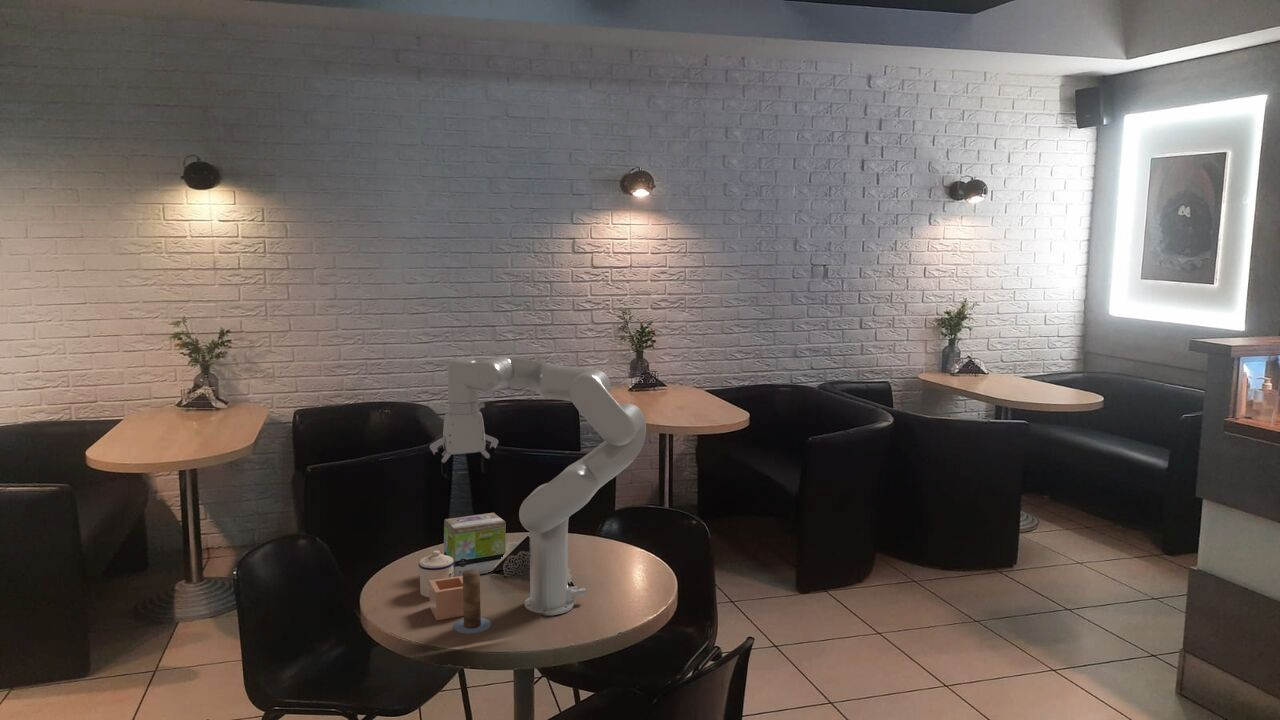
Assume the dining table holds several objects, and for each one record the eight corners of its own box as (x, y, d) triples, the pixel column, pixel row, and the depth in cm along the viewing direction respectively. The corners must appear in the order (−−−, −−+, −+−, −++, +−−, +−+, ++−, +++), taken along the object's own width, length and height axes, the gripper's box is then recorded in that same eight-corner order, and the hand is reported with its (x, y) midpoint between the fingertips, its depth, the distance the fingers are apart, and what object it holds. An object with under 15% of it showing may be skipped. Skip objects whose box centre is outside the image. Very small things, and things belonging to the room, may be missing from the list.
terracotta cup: (463, 604, 223) (462, 575, 222) (470, 617, 215) (470, 587, 214) (429, 610, 220) (429, 580, 219) (436, 623, 212) (435, 592, 211)
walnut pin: (478, 620, 212) (477, 568, 210) (482, 626, 208) (481, 574, 207) (462, 623, 210) (460, 571, 209) (465, 629, 207) (464, 576, 205)
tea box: (455, 580, 240) (453, 528, 238) (443, 569, 248) (442, 518, 246) (506, 570, 247) (505, 520, 245) (494, 559, 256) (493, 510, 254)
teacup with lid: (453, 599, 226) (452, 556, 225) (417, 601, 225) (416, 558, 224) (456, 582, 238) (455, 541, 237) (422, 584, 237) (421, 542, 235)
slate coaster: (485, 618, 215) (485, 614, 215) (495, 632, 207) (495, 629, 207) (449, 624, 212) (449, 621, 211) (457, 639, 203) (457, 636, 203)
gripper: (493, 403, 227) (494, 468, 229) (426, 408, 219) (427, 474, 222) (501, 408, 220) (502, 474, 222) (432, 413, 213) (433, 481, 215)
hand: (465, 474), depth 222 cm, fingers open, 9 cm apart
